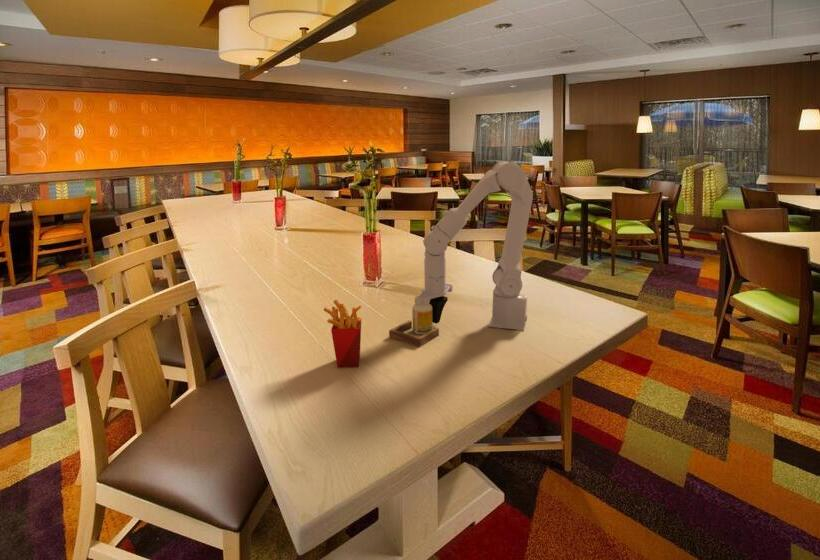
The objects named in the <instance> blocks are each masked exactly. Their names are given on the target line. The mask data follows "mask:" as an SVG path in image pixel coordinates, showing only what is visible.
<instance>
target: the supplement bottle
mask: <svg viewBox="0 0 820 560" xmlns="http://www.w3.org/2000/svg"><path fill="white" fill-rule="evenodd" d="M418 296H419V295H416V296H415V297H414V304H413V305H412V309H411V310H412V312H411V313H412V317H411V318H412V331H413V333H414V334H417V335H424V334H426V333H427V332H429V331H431V330H433V329H434V328H433V323H432V306H431V304H429V303H430V299H425V300H424V305H419V304H420V300H417V297H418Z"/></svg>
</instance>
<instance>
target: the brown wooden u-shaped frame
mask: <svg viewBox="0 0 820 560" xmlns="http://www.w3.org/2000/svg"><path fill="white" fill-rule="evenodd" d="M411 329H413V320H407V321H405V322H403V323H400V324H399V325H398V326H395V327H393V328H391V329H389V330H388V338H390V339H393V340H397V341H398V342H399V341H400V342H403V343H406V344H410V345H412V346H416V347H423V346H424V345H425V344H427V343H429V342H431V341H432V340H434V339H436V338H437V337H439V336H440V332H439V331H440V328H437V327H435V328H432V330H431V331H429V332H427V333H426V334H421V335H420V336H416V335H412V334H409V333H406V332H407V331H409V330H411Z"/></svg>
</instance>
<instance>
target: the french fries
mask: <svg viewBox="0 0 820 560" xmlns="http://www.w3.org/2000/svg"><path fill="white" fill-rule="evenodd" d="M333 304H334V305H335V306H331V309H329V308H328V307H324V308H323V312H325V313H327V314H329V315H330V316H331V318H328V319H327V320H326V322H327V323H328V324H332V326H331V329H330V331H331V335H332V336H331V338H332V342H333V348H334V355H335V360H336V366H337V369H339V368H341V369H342V368H359V366H360V359H361V342H362V341H361V339H362V337H361V335H362V318H361V316H358V314H357V312H358V311H359V310H360V309H362V308H363V307H362V306H361V305H359V306H357V308H356V307H355V306H354V307H352V308H351V309H352V312H351V314H350V315H349V311H348V310H347V308H346V306H345V304H344V303H340V301H338V300H337V299H334V300H333Z"/></svg>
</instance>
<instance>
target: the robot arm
mask: <svg viewBox="0 0 820 560" xmlns="http://www.w3.org/2000/svg"><path fill="white" fill-rule="evenodd" d="M530 185H531V184H530V183H529V180H528V175H527V173H526V171H524V169H523V168H522V167H521V166H520V165H519V164H517V163H515V162H510V161H507V160H499V161H498V162H496V163H495V164H494V165H493V166H492V168H491V169H489V170H488V171H487V172H485V174H484V175H483V176H482V177H481V178H480V179H479V181H478V182H477V183H476V184H475V185H474V187H473V188H472V190H470V192H469V193H468V194H467V195H466V196H465V198H464V199H463V200H462V201H461V202H460V204H459V205H458V207H452V208H449V209H448V210H444V212H442V215H443V217H441V218H440V220H439V221H438V222H437V224H436V225H432V226H431V228H430V229H431V230H429V231H428V232H426V234H424V239H423V240H422V242H423V246H424V247H425V250H424V259H423V260H424V263H423V265H424V268H423V269H424V287H423V288H421V293H420V294H419V295H417V296H418V297H417V300H420V304H419V305H424V300H425V299H430V303H429V304H431V306H432V324H439V323H440V321H441V318H442V314H443V311H444V308H445V305H446V304H447V302H448V296H446V295H447V293H452V292H453V284H450V283H447V281H446V280H447V279H446V278H447V276H446V275H447V274H446V272H447V271H446V270H447V267H446V266H447V261H446V251H447V250H448V243H449V242H451V241H452V240H453V239H454V238H455V237H456V236H457V234H459V232H460V231H462V229H463V228H464V227H465V225H467V221H468V220H467V217H468V215H469V214H470V213H471V212H472V211H473V210H474V209H475V208H476V207H477V206H479V204H480V203H481V202H482V200H483V201H484V199H485V198H486V197H487V196H488V195H489V194H492V193H495V192H500V191H501V188H502V189H504V191H505V192H506V194H507V195H508V196H509V198H510V199H511V203H510V204H511V205H510V209H509V210H510V211H509V213H508V214H509V215H508V221H507V227H506V231H505V237H504V242H503V248H502V253H501V256H500V258H499V260H498V264H497V266H496V268H495V269H494V271H493V273H492V277H491V279H492V282H493V283H494V285H495V287H494V289H493V290H492V311H491V312H492V313H491V314H492V315H491V316H492V317H491V319H490V321H489V323H488V327H489V328H496V329H506V330H517V331H524V330H525V327H526V323H527V320H528V314H527V308H528V295H527V294H523V293H521V291H522V288H523V281H522V265H521V259H522V255H523V250H524V245H525V238H526V235H527V234H526V233H527V230H528V225H529V219H530V214H531V209H532V203H533V198H534V193H533V191H532V188H531V186H530ZM500 187H501V188H500Z"/></svg>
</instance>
